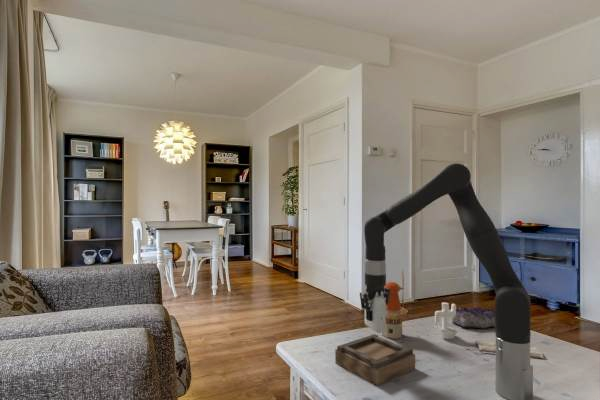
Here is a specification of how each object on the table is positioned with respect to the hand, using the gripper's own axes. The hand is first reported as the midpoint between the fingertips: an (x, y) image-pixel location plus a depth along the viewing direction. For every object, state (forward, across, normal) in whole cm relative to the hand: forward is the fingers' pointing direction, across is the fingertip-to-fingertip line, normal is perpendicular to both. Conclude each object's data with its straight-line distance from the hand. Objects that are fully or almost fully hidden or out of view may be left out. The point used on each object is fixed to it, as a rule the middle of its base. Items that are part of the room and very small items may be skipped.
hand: (375, 318), depth 128 cm
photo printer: (+4, 0, 0) cm, 4 cm away
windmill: (+17, +28, +14) cm, 36 cm away
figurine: (+17, +46, 0) cm, 49 cm away
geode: (+17, +71, 0) cm, 73 cm away
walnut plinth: (+17, 0, 0) cm, 17 cm away
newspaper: (+18, +53, -23) cm, 61 cm away
